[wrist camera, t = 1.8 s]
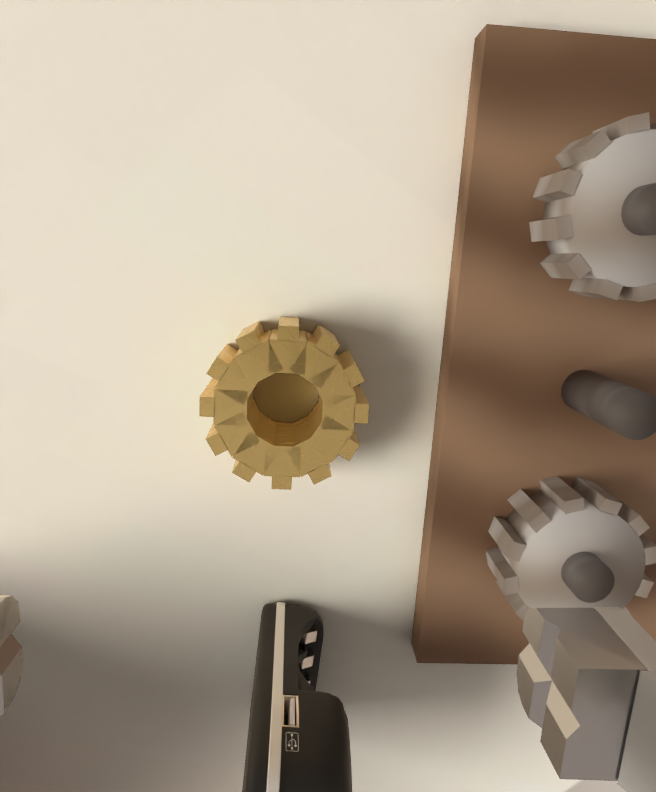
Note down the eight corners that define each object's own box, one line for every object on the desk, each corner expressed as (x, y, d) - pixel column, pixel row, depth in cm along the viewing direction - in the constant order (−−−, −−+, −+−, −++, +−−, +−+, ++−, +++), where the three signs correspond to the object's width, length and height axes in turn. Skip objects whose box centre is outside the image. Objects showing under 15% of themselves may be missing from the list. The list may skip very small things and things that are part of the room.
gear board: (475, 38, 24) (534, -34, 18) (755, 63, 24) (899, 2, 19) (411, 643, 30) (439, 736, 24) (635, 646, 31) (715, 737, 25)
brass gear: (213, 312, 26) (200, 321, 22) (364, 321, 26) (375, 330, 23) (210, 457, 27) (198, 485, 24) (353, 462, 27) (362, 491, 24)
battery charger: (322, 717, 31) (337, 978, 20) (249, 713, 30) (223, 975, 19) (339, 600, 29) (366, 811, 18) (263, 593, 29) (244, 804, 18)
